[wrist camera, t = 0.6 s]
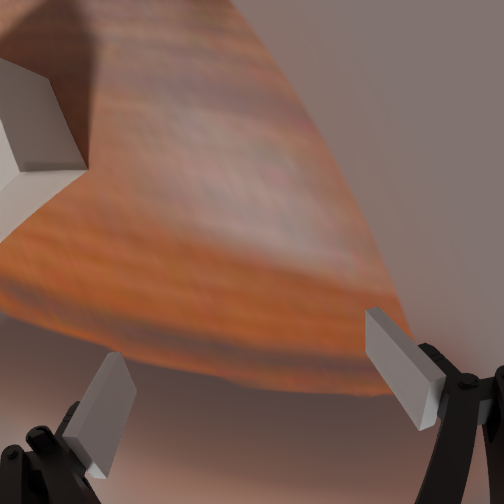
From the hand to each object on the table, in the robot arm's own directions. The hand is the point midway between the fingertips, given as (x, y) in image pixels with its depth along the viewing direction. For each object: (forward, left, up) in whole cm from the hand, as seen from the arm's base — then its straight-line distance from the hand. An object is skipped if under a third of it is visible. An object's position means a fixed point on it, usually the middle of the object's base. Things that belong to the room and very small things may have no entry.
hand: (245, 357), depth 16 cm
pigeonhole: (-16, -36, -27) cm, 47 cm away
